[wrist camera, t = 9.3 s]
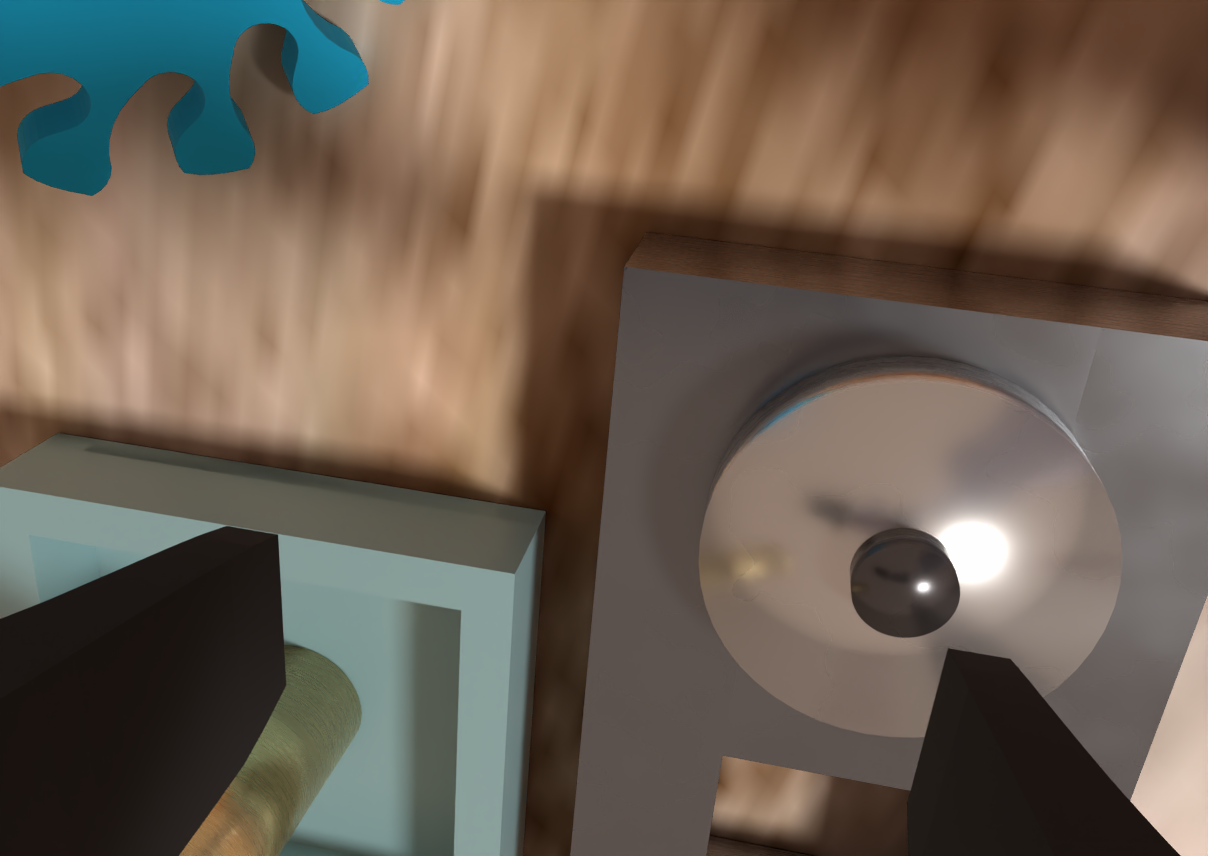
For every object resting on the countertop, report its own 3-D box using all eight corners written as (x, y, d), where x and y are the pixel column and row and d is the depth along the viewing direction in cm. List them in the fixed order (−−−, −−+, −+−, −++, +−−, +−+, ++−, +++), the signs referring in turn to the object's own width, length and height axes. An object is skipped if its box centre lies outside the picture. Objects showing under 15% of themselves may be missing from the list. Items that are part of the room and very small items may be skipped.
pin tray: (546, 511, 21) (514, 574, 19) (520, 899, 26) (492, 987, 24) (57, 433, 23) (-26, 482, 20) (114, 812, 27) (51, 887, 25)
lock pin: (419, 680, 23) (210, 1028, 15) (352, 808, 25) (135, 1175, 17) (243, 584, 23) (-56, 884, 15) (188, 719, 25) (-103, 1048, 17)
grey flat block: (1235, 304, 17) (1357, 398, 13) (1001, 985, 24) (1038, 1178, 20) (646, 232, 19) (604, 298, 15) (580, 896, 25) (539, 1061, 22)
